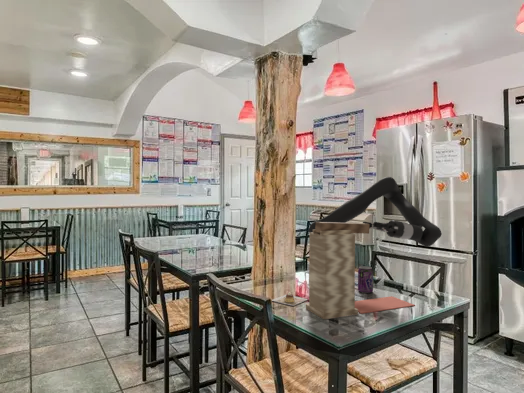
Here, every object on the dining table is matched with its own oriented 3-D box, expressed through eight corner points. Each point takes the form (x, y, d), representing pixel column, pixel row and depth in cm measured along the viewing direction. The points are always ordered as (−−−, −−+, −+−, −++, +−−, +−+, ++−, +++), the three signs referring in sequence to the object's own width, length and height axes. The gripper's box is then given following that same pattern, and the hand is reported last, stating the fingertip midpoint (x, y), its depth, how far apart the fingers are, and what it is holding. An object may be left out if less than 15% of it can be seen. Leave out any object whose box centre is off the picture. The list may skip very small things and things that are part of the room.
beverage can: (362, 294, 174) (362, 269, 174) (355, 290, 181) (355, 266, 181) (375, 293, 176) (376, 268, 176) (367, 289, 183) (368, 265, 183)
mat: (361, 313, 146) (361, 312, 146) (341, 303, 159) (341, 303, 159) (414, 305, 157) (414, 304, 157) (391, 297, 170) (391, 296, 170)
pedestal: (323, 319, 140) (324, 232, 139) (305, 308, 153) (306, 228, 152) (358, 314, 146) (358, 230, 145) (338, 304, 159) (338, 227, 158)
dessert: (286, 296, 172) (286, 286, 172) (308, 301, 164) (308, 291, 164) (270, 302, 163) (270, 291, 163) (293, 308, 155) (293, 297, 155)
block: (320, 232, 144) (321, 222, 144) (315, 231, 148) (315, 221, 148) (369, 233, 154) (369, 224, 154) (362, 232, 157) (363, 223, 157)
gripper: (390, 221, 171) (360, 215, 166) (411, 221, 157) (379, 215, 153) (388, 237, 170) (358, 231, 165) (409, 239, 156) (376, 233, 152)
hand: (368, 223), depth 159 cm, fingers open, 8 cm apart
